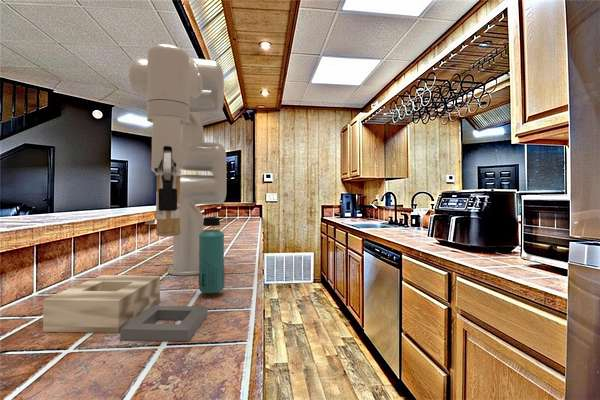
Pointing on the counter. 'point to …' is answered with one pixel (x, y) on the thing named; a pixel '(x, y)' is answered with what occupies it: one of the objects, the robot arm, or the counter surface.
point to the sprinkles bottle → (168, 212)
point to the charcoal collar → (148, 331)
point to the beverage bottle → (211, 258)
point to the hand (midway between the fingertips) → (168, 208)
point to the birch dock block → (100, 304)
